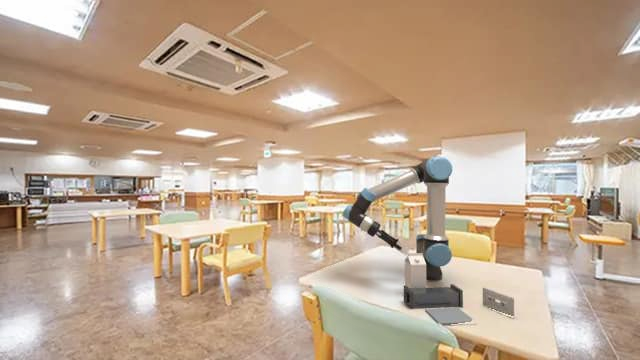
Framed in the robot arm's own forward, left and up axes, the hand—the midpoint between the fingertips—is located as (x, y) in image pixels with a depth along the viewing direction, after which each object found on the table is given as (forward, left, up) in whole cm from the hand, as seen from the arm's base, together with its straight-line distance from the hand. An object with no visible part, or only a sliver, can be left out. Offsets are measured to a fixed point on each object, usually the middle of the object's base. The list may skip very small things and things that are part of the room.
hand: (408, 252), depth 129 cm
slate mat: (-5, +27, -18) cm, 33 cm away
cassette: (-27, +24, -19) cm, 40 cm away
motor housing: (-4, +16, -18) cm, 24 cm away
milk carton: (-1, +5, -19) cm, 19 cm away
